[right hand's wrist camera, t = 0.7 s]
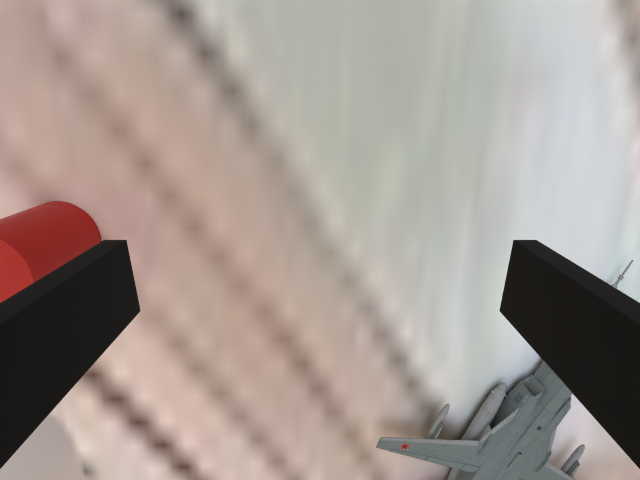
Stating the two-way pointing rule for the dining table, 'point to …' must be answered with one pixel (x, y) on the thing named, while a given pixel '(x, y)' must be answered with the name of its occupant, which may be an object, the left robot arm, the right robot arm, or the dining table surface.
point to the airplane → (503, 434)
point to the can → (41, 243)
